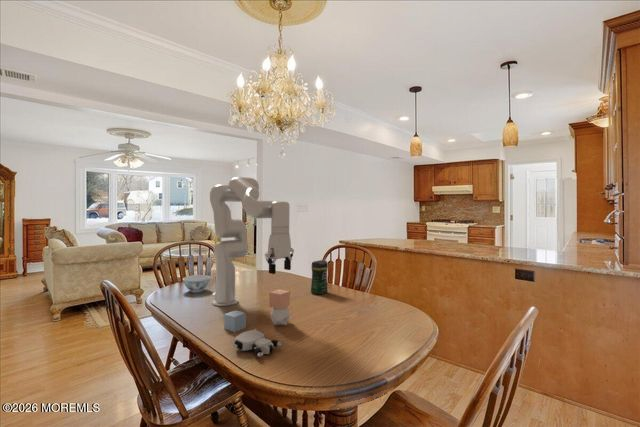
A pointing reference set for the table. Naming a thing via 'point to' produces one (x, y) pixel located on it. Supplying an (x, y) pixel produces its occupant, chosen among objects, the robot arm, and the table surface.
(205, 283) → the chinaware
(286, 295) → the terracotta block
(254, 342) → the robot toy
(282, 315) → the die
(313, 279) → the coffee jar
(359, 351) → the table surface
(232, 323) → the slate block
